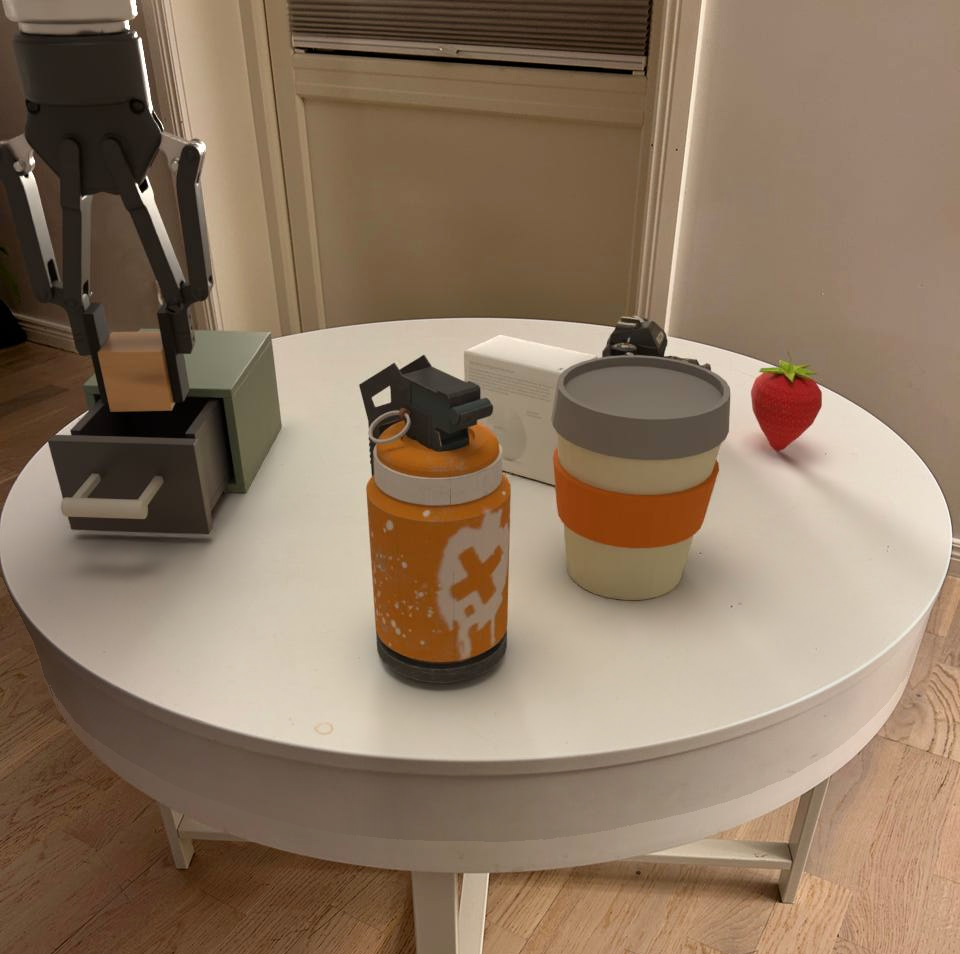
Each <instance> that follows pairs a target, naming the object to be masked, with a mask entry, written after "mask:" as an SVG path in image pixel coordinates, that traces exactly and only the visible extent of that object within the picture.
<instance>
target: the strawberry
mask: <svg viewBox="0 0 960 954" xmlns="http://www.w3.org/2000/svg"><path fill="white" fill-rule="evenodd" d="M785 351H786V353H787V355H788V357H789V363H788V362H787V361H785V360H782V359H779V361H778V363H779V366H775V367H774V366H773V367H761V368H760V370H758V373H760V375H758V376H756V378H755V380H754V382H753V384H752V386H751V390H750V399H751V407H752V412H753V414H754V416H755V419H756V421H757V424H758V425H759V428H760V430H761V431H762V433H763V434H764V436H765V438H766V439H767V441H768V444H769V446H770V447H771V449H772V450H774V451H776V452H781V451H783V450H785V449H786V448H787V447H788V446H789V445H790V444H791V443H794V441H796V440H797V439H799V438H800V437H801V436H802V435H803V434H804V433H805V432H806V431H807V430H808V429H809V428H810V427H811V426H812V425H813V424H814V422H815V420H816V418H817V416H818V415H819V412H820V411H821V409H822V407H823V393H822V390H821V389H820V387H819V385H818V384H817V382H816V381H815V380H814V379H813V378H812V377H810V376H809V375H818V374H819V373H818V372H815V371H812V370H809V369H807V368H809V367H811V364H799V365H797V364H791V363H792V356H791V354H790V353H789V352H790V351H789V350H788V348H785Z"/></svg>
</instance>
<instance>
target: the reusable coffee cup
mask: <svg viewBox="0 0 960 954" xmlns="http://www.w3.org/2000/svg"><path fill="white" fill-rule="evenodd" d="M730 414H731V387H730V385H729V384H728V382H727V381H726V380H725V379H724V378H723V377H722V376H720V375H719V374H718V373H716V372H714V371H712V370H711V371H710V370H708V369H706V368H703V367H701V366H698V365H695V364H692V363H688V362H685V361H680V360H675V359H670V358H663V357H656V356H641V355H621V356H608V357H602V356H601V357H597V358H595V359H591V360H587V361H583V362H580V363H578V364H575V365H573V366H571V367H569V368H567V369H566V370H564V371H563V372H562V373H561V375H560V376H559V378H558V381H557V386H556V393H555V399H554V405H553V411H552V417H551V420H552V425H553V427H554V429H555V430H556V432H557V445H558V447H557V448H556V449H555V451H554V455H553V465H554V477H555V485H554V487H555V500H556V501H555V503H556V511H557V515H558V518H559V519H560V521H561V523H562V524H563V533H564V545H565V546H564V547H565V559H566V569H567V573H568V575H569V576H570V578H571V580H572V581H573V582H575V584H577V586H579V587H581V588H582V589H584V590H585V591H587V592H590V593H592V594H595V595H597V596H601V597H603V598H608V599H613V600H621V601H640V600H649V599H653V598H657V597H661V596H663V595H666V594H668V593H669V592H671V591H672V590H674V589H676V587H677V586H678V585H679V583H680V582H681V578H682V576H683V573H684V568H685V566H686V562H687V559H688V556H689V553H690V549H691V546H692V543H693V540H694V536H695V535H696V534H697V533H698V532H699V530H701V528H702V526H703V525H704V522H705V518H706V515H707V511H708V508H709V505H710V502H711V498H712V495H713V492H714V488H715V485H716V481H717V478H718V476H719V471H720V465H719V461H718V459H717V458H718V455H719V451H720V448H721V444H722V443H723V442H725V440H727V437H728V435H729V432H730Z"/></svg>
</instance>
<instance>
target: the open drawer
mask: <svg viewBox="0 0 960 954" xmlns="http://www.w3.org/2000/svg"><path fill="white" fill-rule="evenodd" d="M47 444H48V448H49V452H50V455H51V458H52V459H51V460H52V463H53V467H54V470H55V475H56V477H57V478H56V479H57V481H58V485H59V488H60V489H59V490H60V493H61V497H62V500H61V503H60V510H61V514H62V515H63V516H64V517H67V519H68V523H69V527H70V530H72V531H96V532H122V533H123V532H127V533H130V532H131V533H152V534H153V533H155V534H156V533H158V534H184V535H185V534H186V535H210V534H211V532H212V530H213V529H214V524H213V518H212V511H213V509H214V508H215V506H216V504H217V502H218V501H219V499H220V497H221V496H222V495H223V493H224V492H223V490H224V489H225V487H226V485H227V483H228V482H229V480H230V478H231V477H232V475H233V473H234V467H233V461H232V454H231V447H230V441H229V434H228V428H227V421H226V414H225V408H224V401H223V398H214V397H186V398H185V400H184V402H178V403H175V405H174V407H173V409H172V410H171V411H124V412H111V411H110V408H109V404H102V402H101V399H100V400H99V401H98V402H97V403H96V404H95V405H94V406H93V407H92V408H91V409H90V410H89V411H88V410H87V412H86V413H85V414H84V415H83V416H82V417H81V418H80V419H79V420H78V421H77V423H76V424H75V425H73V427H72V428H70V434H53V435H52V436H51V437H50V438H48V440H47Z"/></svg>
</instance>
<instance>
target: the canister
mask: <svg viewBox="0 0 960 954" xmlns="http://www.w3.org/2000/svg"><path fill="white" fill-rule="evenodd" d="M358 387H359V391H360V394H361V398H362V402H363V403H362V404H363V407H364V410H365V414H366V418H367V424H368V430H367V431H368V434H367V435H368V441H369V443H368V447H369V449H368V450H369V458H370V460H369V463H370V473H371V477H370V478H369V480H368V481H367V483H366V488H365V489H366V491H365V492H366V507H367V517H368V518H367V520H368V535H369V550H370V551H369V552H370V565H371V579H372V580H371V581H372V594H373V608H374V610H373V611H374V622H375V623H374V624H375V636H376V637H375V638H376V651H377V653H378V656H379V658H380V659H381V661H382V663H384V664H385V665H386V666H387V667H388V669H391V670H392V671H393V672H395V673H397V674H399V675H401V676H402V677H406V678H407V679H412V680H416V681H420V682H427V683H442V684H443V683H444V684H445V683H455V682H461V681H466V680H469V679H473V678H475V677H478V676H480V675H484V674H485V673H486V672H488V671H490V670H492V669H493V668H494V667H495V666H496V665H497V664H499V663H500V661H501V660H502V659H503V657H504V656H505V654H506V651H507V647H508V618H509V617H508V615H509V613H508V611H509V576H510V575H509V574H510V573H509V572H510V571H509V570H510V567H509V566H510V535H511V532H510V531H511V495H512V494H511V493H512V484H511V481H510V479H509V478H508V477H507V475H506V474H505V473H504V472H503V470H502V447H501V445H500V443H499V442H498V439H497V437H496V435H495V434H494V433H493V432H492V430H490V429H489V428H488V427H486V426H485V425H483V424H481V423H479V422H477V420H480V419H483V418H486V417H489V416H491V415H492V412H493V405H492V404H491V402H490V400H489V399H488V398H482V399H481V389H480V387H479V385H477V384H475V383H473V382H471V381H468V382H465V381H464V380H462V379H460V378H459V377H456V376H454V375H451V374H449V373H447V372H445V371H443V370H441V369H439V368H437V367H435V366H432V364H431V362H430V361H429V359H428V358H427V356H426V354H423V355H421V356H419V357H418V358H416V359H414V360H413V361H410V363H407V364H406V365H404V366H402V367H401V368H400V369H399V367H398V365H397V364H396V362H392V363H391V364H390V365H388V366H387V367H385V368H383V369H381V370H380V371H379V372H377V373H375V374H373V375H372V376H371V377H369V378H367V379H366V380H364V381H363V382H361V383H359V384H358ZM387 388H389V390H390V402H387V403H385V404H381V405H378V406H376V405H375V403H374V400H373V397H375V396H376V395H378V394H379V393H381V392H383V391H384V390H385V389H387Z"/></svg>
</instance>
